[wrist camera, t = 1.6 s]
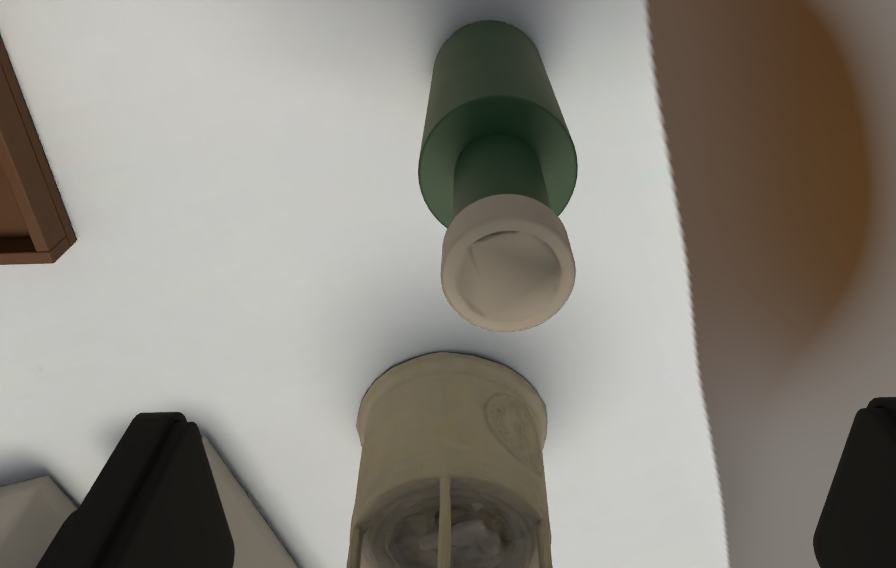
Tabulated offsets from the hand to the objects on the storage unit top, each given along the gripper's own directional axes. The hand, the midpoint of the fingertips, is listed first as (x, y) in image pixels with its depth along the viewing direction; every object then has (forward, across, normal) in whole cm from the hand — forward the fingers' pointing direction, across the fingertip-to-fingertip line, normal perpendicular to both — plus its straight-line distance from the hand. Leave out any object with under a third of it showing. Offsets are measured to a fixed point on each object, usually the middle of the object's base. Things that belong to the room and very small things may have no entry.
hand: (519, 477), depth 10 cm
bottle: (+21, 0, -1) cm, 21 cm away
